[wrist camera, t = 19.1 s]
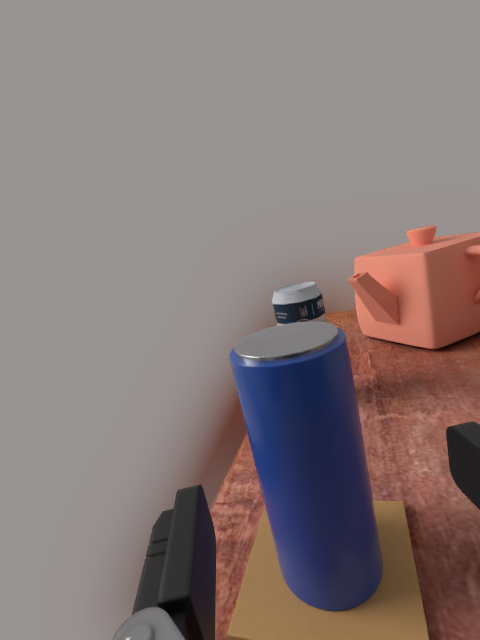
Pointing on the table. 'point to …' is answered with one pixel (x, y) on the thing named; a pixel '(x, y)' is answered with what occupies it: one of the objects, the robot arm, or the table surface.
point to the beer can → (298, 303)
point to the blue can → (310, 460)
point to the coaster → (333, 626)
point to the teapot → (420, 289)
